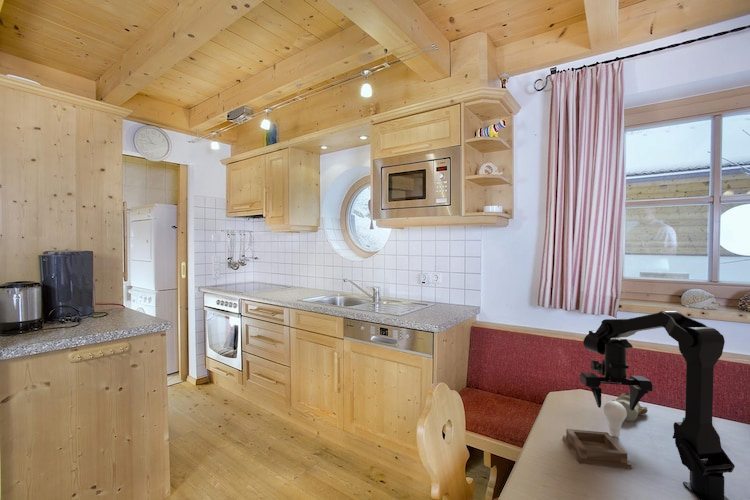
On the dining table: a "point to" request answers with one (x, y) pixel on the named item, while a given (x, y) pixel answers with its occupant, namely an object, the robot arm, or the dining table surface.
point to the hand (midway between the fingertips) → (615, 408)
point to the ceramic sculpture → (625, 401)
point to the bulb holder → (596, 448)
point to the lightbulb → (614, 416)
